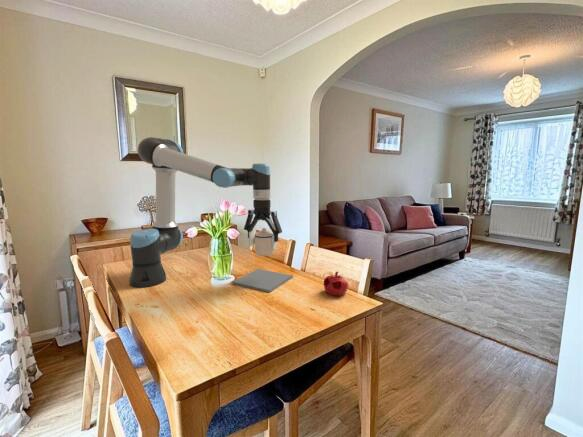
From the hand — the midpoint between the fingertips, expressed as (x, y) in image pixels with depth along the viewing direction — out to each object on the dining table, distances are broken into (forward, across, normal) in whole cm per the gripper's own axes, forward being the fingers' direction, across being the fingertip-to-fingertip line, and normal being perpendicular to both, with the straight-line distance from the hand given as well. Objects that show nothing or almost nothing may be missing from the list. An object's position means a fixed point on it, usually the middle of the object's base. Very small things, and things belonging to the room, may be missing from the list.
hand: (262, 247), depth 133 cm
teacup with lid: (+3, 0, 0) cm, 3 cm away
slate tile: (+16, 0, 0) cm, 16 cm away
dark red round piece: (+16, +34, +3) cm, 38 cm away
